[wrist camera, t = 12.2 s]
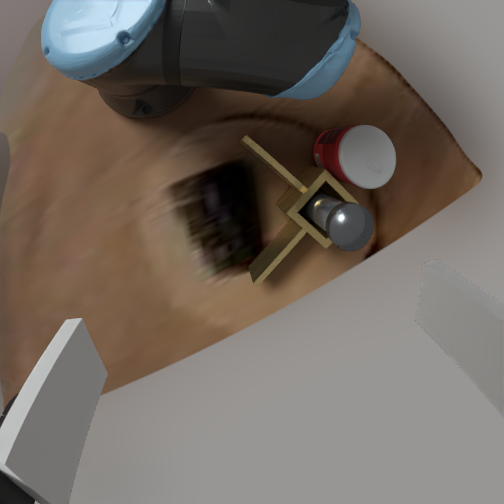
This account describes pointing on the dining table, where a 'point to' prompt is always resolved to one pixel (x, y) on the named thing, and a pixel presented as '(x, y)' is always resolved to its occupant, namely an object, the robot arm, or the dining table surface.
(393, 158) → the canned food
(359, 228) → the pin
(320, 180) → the hinge
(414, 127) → the dining table surface
